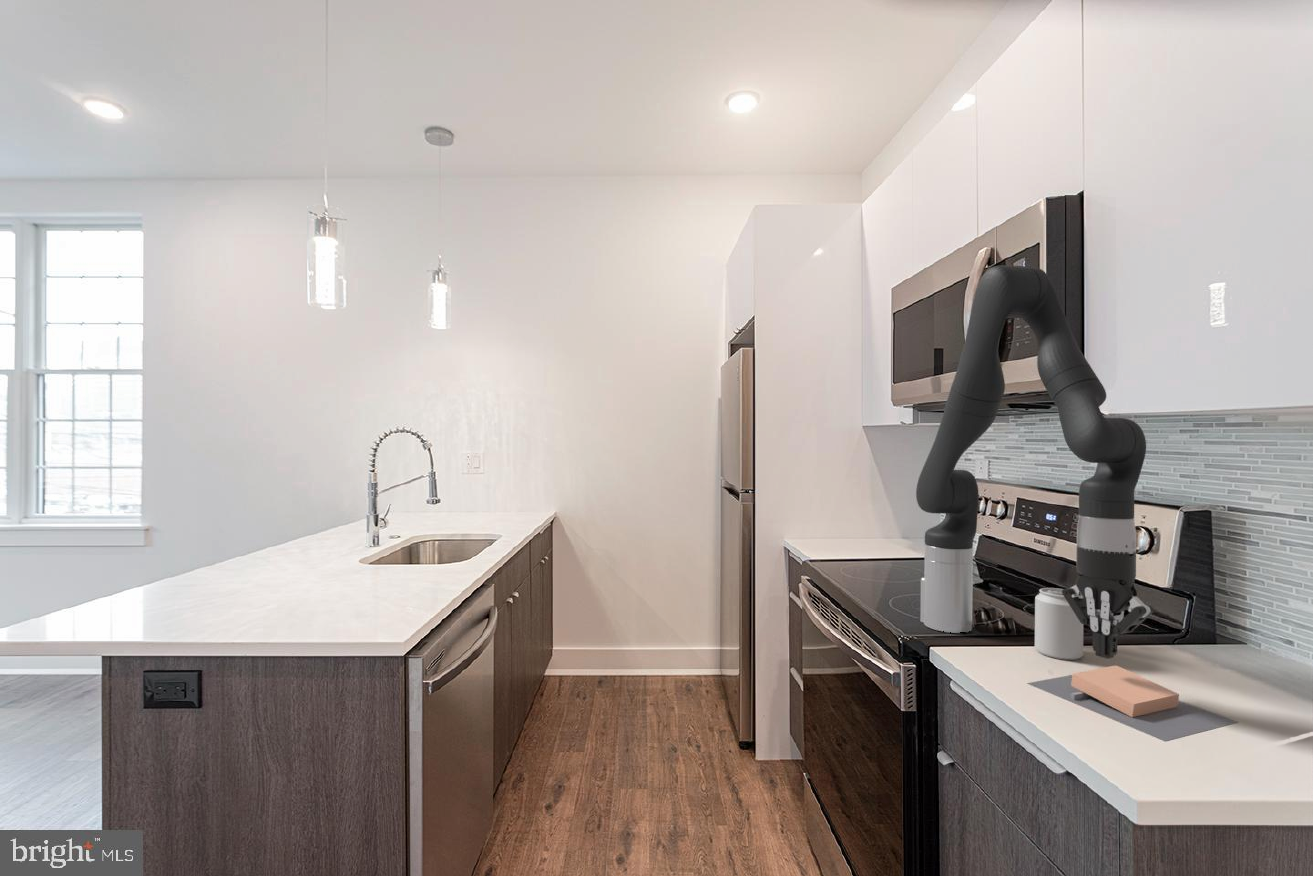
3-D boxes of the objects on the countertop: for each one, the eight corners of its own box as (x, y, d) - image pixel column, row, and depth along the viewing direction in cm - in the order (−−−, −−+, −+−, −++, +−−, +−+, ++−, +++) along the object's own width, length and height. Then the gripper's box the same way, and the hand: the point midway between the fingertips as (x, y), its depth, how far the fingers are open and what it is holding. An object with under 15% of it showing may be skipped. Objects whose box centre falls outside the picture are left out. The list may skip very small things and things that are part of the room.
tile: (1072, 673, 96) (1134, 704, 88) (1116, 665, 100) (1179, 694, 91) (1070, 686, 96) (1132, 718, 88) (1114, 678, 100) (1177, 707, 92)
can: (1091, 664, 110) (1091, 597, 109) (1044, 661, 111) (1045, 594, 111) (1071, 650, 117) (1072, 587, 117) (1028, 647, 118) (1028, 584, 118)
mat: (1026, 685, 100) (1027, 678, 100) (1094, 672, 106) (1094, 665, 106) (1165, 744, 81) (1165, 735, 81) (1238, 724, 87) (1238, 716, 87)
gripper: (1048, 540, 101) (1047, 645, 101) (1135, 554, 89) (1134, 675, 89) (1080, 537, 104) (1079, 640, 104) (1169, 551, 91) (1168, 668, 91)
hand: (1105, 656), depth 96 cm, fingers closed
